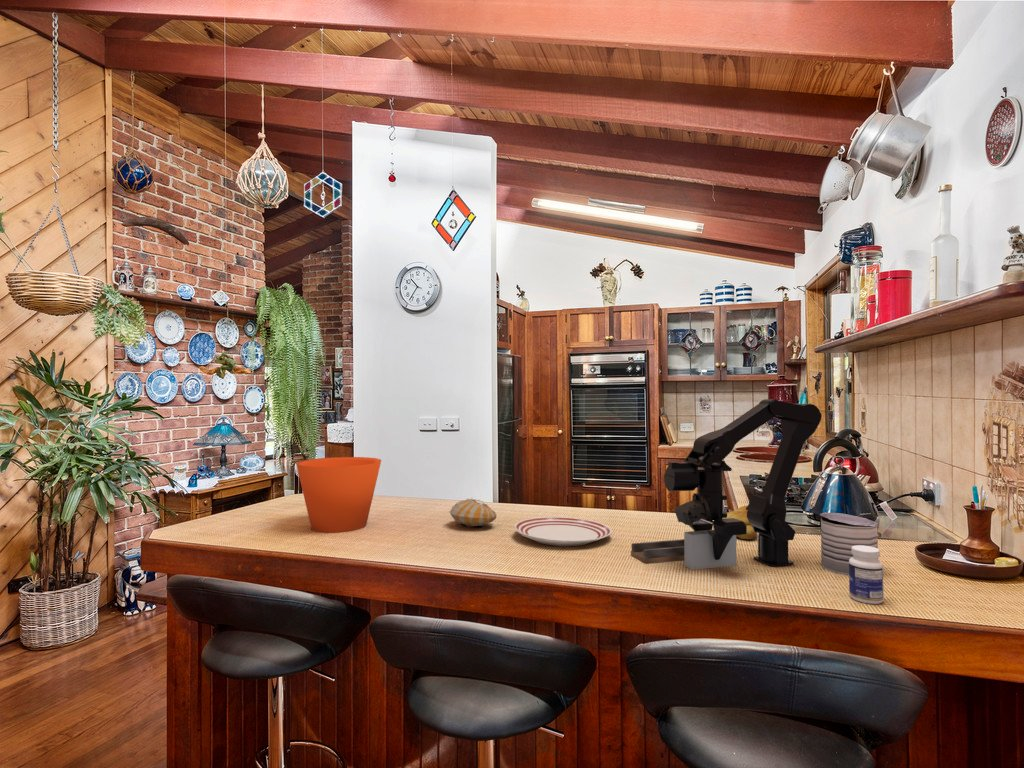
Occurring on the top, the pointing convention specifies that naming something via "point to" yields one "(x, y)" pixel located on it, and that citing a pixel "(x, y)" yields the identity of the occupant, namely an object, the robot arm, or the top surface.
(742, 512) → the tan lumpy piece
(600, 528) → the dinner plate
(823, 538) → the can
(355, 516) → the flowerpot
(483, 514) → the striped ribbed shell
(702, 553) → the door panel
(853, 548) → the pill bottle
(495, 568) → the top surface
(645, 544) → the bottom track
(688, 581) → the top surface
